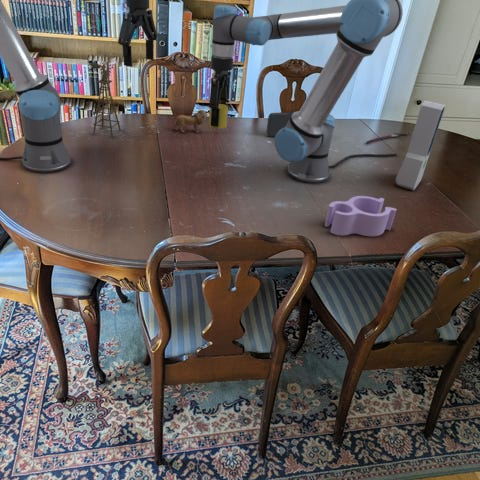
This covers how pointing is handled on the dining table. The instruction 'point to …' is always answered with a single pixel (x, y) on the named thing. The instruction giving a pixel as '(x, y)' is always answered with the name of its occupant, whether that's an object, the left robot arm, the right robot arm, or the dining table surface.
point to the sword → (384, 137)
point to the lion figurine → (191, 120)
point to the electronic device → (420, 145)
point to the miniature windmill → (105, 81)
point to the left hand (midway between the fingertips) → (139, 62)
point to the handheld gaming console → (277, 122)
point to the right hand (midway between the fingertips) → (218, 122)
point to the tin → (220, 116)
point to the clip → (359, 216)
